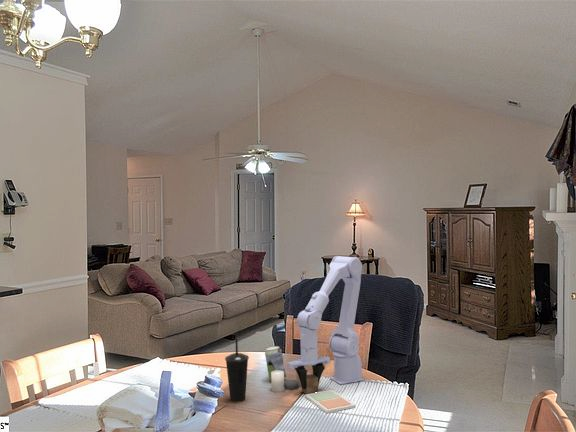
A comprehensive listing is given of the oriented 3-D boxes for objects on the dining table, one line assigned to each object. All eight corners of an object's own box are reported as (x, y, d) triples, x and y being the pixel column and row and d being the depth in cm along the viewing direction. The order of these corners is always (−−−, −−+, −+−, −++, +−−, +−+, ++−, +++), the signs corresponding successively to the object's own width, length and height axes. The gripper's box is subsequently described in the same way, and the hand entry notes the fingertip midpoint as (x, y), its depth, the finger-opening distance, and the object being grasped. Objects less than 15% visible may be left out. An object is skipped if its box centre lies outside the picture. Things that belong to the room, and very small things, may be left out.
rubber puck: (295, 384, 177) (295, 379, 177) (300, 389, 173) (300, 383, 173) (282, 386, 176) (281, 380, 176) (286, 391, 171) (286, 385, 171)
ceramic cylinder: (281, 386, 175) (280, 369, 175) (286, 390, 171) (286, 373, 171) (269, 388, 173) (269, 371, 173) (274, 392, 169) (274, 375, 169)
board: (331, 392, 169) (331, 389, 169) (355, 407, 155) (355, 404, 155) (304, 397, 164) (304, 394, 164) (326, 413, 151) (326, 410, 151)
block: (312, 388, 172) (312, 373, 172) (318, 392, 169) (317, 377, 169) (302, 390, 171) (301, 375, 171) (307, 394, 167) (307, 379, 167)
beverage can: (284, 384, 178) (283, 350, 178) (263, 383, 179) (262, 349, 179) (287, 378, 184) (286, 345, 184) (268, 377, 185) (267, 344, 185)
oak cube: (306, 382, 179) (306, 371, 179) (312, 386, 175) (311, 374, 175) (296, 384, 177) (296, 373, 177) (301, 388, 173) (301, 376, 173)
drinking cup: (253, 396, 166) (251, 335, 166) (243, 404, 159) (242, 341, 159) (232, 394, 169) (230, 334, 169) (221, 402, 162) (220, 339, 162)
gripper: (322, 341, 176) (323, 380, 176) (284, 346, 170) (285, 386, 170) (332, 346, 170) (333, 386, 170) (293, 351, 164) (294, 393, 164)
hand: (310, 387), depth 170 cm, fingers closed on block, 4 cm apart
